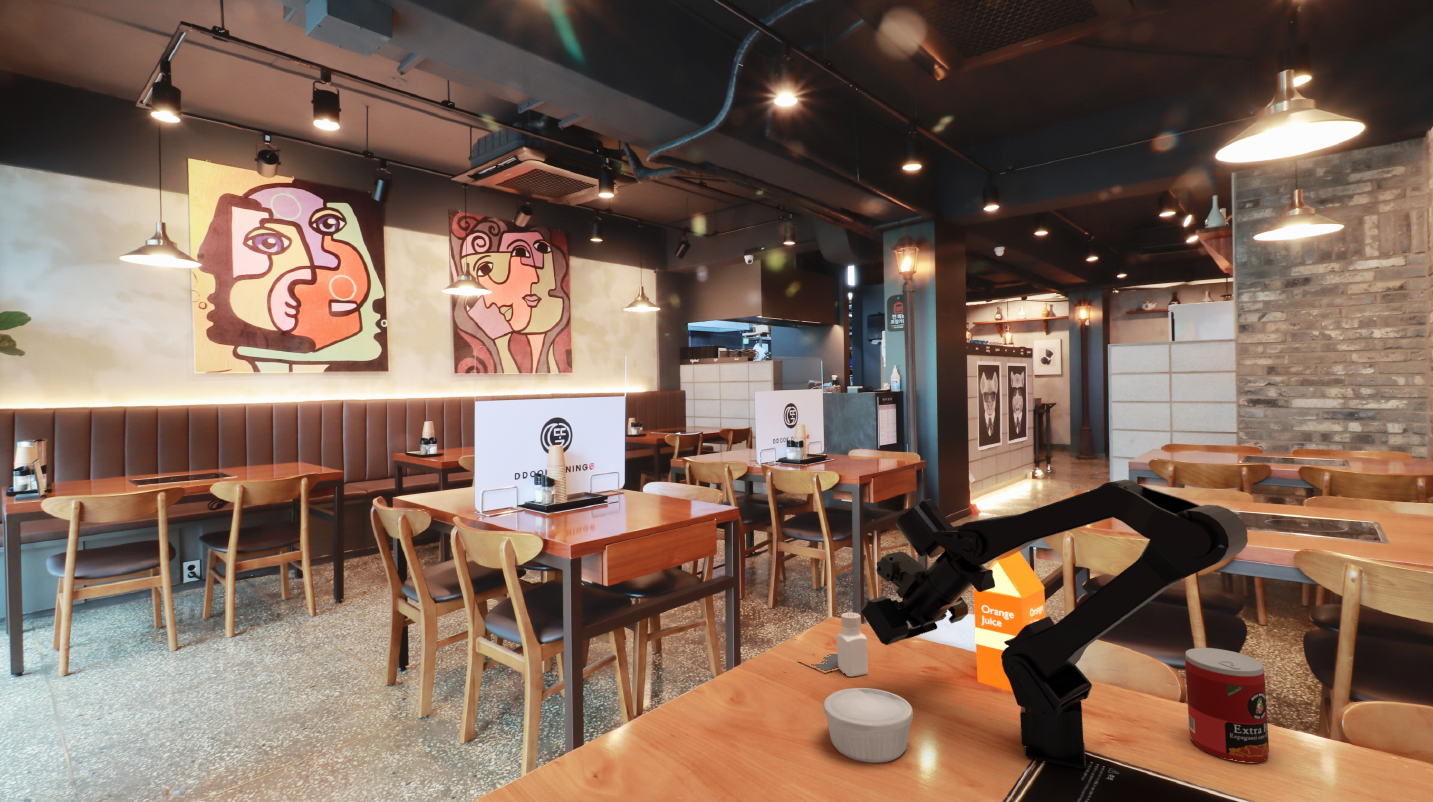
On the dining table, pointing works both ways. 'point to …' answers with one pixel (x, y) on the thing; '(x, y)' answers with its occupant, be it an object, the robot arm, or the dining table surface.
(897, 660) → the dining table surface
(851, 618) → the pepper shaker
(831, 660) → the coaster
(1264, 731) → the canned food
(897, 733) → the ramekin
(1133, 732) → the dining table surface
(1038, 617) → the orange juice
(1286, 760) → the dining table surface
